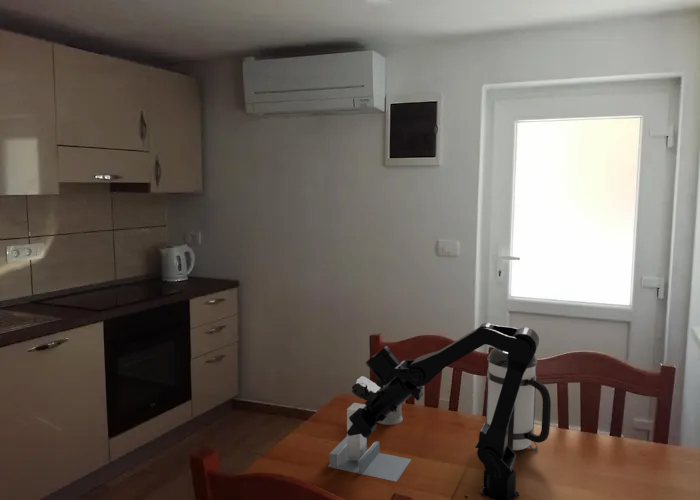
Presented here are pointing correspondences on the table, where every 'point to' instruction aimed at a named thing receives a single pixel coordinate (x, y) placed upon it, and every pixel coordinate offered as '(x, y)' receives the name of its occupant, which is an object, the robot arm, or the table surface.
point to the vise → (369, 462)
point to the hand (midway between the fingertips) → (351, 430)
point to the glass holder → (396, 415)
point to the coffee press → (518, 402)
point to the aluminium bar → (355, 436)
